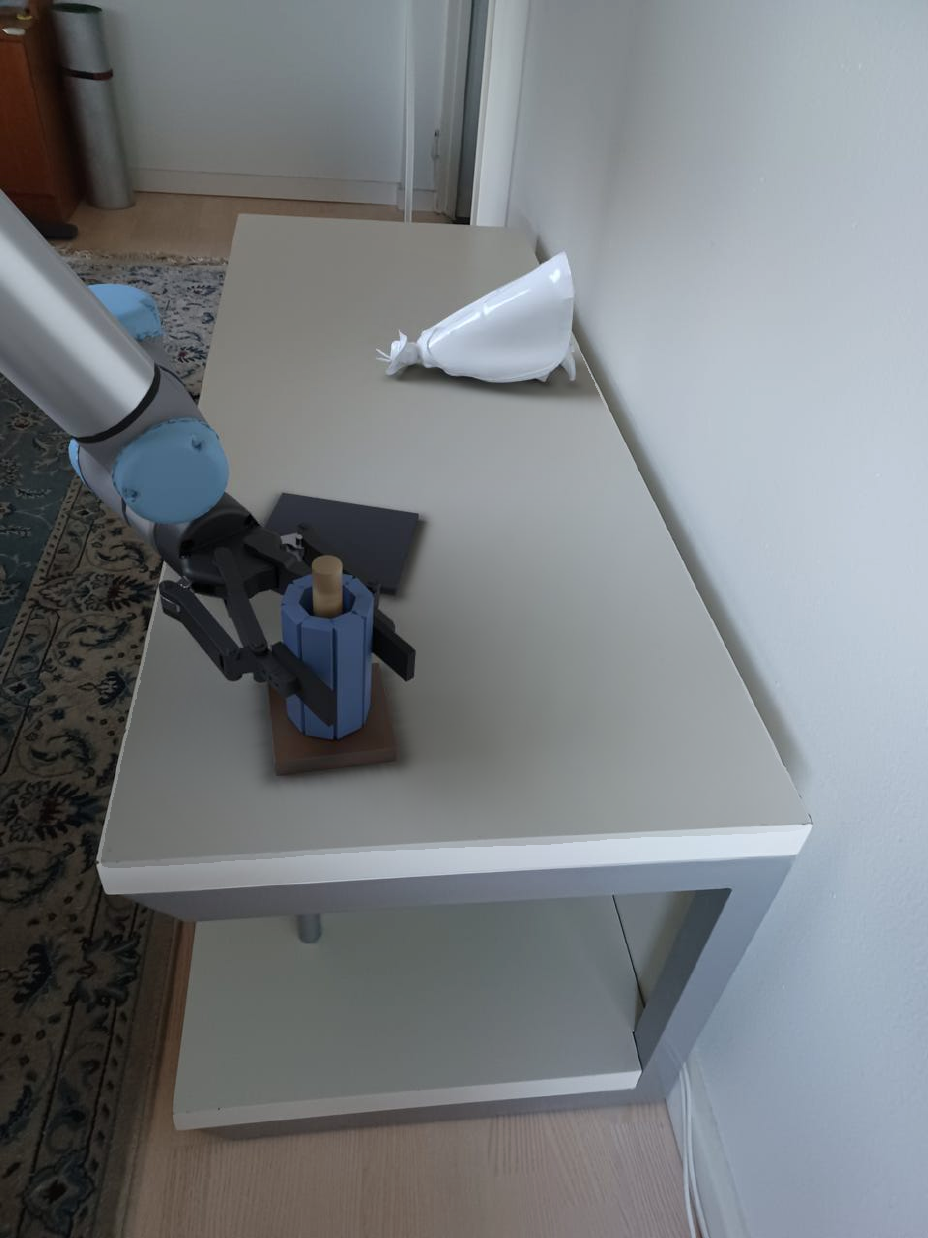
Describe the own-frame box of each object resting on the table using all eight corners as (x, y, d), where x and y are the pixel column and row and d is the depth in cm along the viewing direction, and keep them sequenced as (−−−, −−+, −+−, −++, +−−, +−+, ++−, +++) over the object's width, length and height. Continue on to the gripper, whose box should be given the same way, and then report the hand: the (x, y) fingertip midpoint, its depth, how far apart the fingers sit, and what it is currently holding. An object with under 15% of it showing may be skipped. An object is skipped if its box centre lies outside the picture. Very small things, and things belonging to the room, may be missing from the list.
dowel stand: (275, 775, 66) (262, 615, 55) (266, 686, 72) (253, 528, 62) (397, 760, 68) (406, 603, 57) (378, 675, 74) (383, 519, 64)
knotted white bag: (559, 363, 122) (373, 361, 119) (571, 237, 114) (372, 232, 110) (582, 396, 111) (378, 395, 108) (598, 259, 102) (377, 254, 99)
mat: (244, 571, 82) (244, 564, 82) (282, 498, 91) (282, 492, 91) (395, 595, 82) (395, 588, 81) (418, 519, 91) (419, 513, 90)
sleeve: (279, 731, 67) (271, 621, 59) (301, 674, 71) (296, 566, 64) (358, 744, 67) (360, 636, 59) (375, 686, 71) (379, 579, 64)
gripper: (294, 522, 81) (468, 665, 70) (91, 607, 71) (257, 793, 59) (291, 450, 76) (478, 592, 65) (72, 530, 66) (249, 716, 54)
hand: (372, 687), depth 62 cm, fingers closed on sleeve, 6 cm apart
